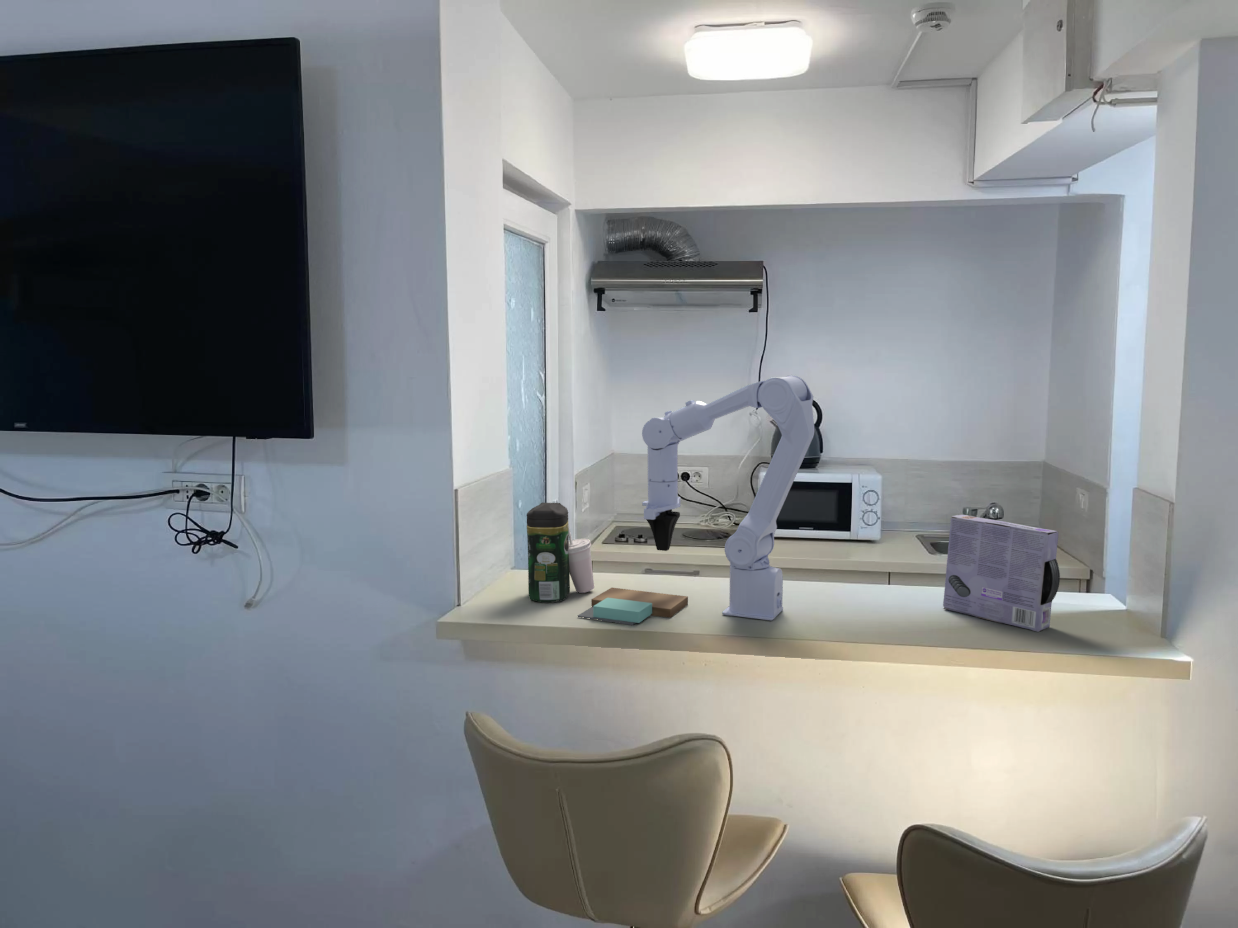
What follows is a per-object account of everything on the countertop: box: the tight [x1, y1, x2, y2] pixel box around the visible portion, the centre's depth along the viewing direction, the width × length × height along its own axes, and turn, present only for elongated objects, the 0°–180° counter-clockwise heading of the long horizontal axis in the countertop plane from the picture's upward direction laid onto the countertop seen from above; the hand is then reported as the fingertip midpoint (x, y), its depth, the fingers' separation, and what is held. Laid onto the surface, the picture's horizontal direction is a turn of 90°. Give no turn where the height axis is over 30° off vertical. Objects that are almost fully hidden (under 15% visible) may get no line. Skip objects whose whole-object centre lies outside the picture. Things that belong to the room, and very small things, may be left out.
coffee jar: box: [526, 502, 571, 604], centre depth 180 cm, size 10×8×19 cm
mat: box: [577, 606, 637, 626], centre depth 168 cm, size 11×7×1 cm, turn 65°
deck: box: [590, 587, 689, 619], centre depth 175 cm, size 16×9×2 cm, turn 65°
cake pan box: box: [942, 514, 1061, 633], centre depth 165 cm, size 19×5×18 cm, turn 41°
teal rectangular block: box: [593, 598, 652, 624], centre depth 168 cm, size 9×6×2 cm, turn 65°
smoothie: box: [568, 523, 595, 594], centre depth 184 cm, size 6×6×14 cm
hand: (663, 549), depth 178 cm, fingers closed
